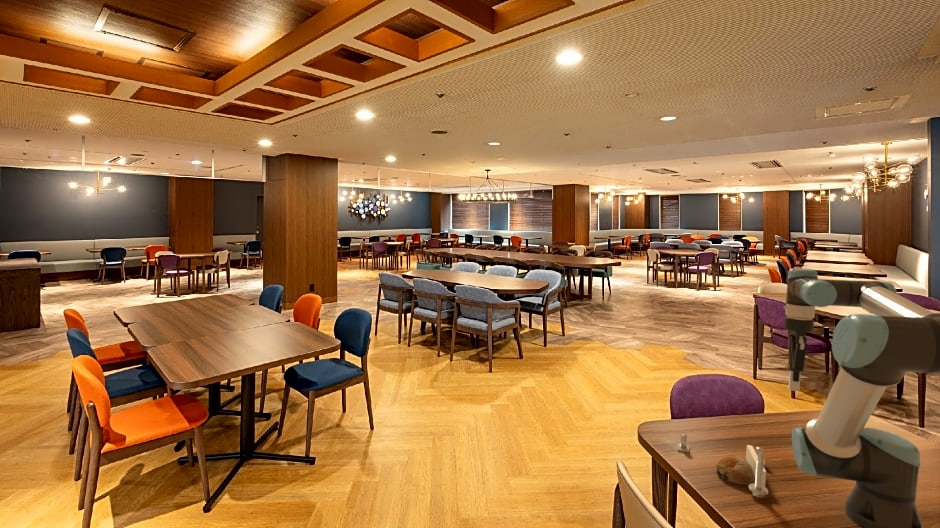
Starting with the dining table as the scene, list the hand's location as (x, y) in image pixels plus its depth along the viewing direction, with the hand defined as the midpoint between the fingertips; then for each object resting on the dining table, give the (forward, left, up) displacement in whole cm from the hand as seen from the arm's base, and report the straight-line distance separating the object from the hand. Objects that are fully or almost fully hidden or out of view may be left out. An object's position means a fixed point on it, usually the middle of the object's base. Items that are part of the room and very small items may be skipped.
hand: (793, 390), depth 149 cm
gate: (-13, +11, -23) cm, 29 cm away
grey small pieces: (-4, +20, -24) cm, 32 cm away
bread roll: (-17, +17, -25) cm, 34 cm away
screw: (-25, +12, -25) cm, 37 cm away
